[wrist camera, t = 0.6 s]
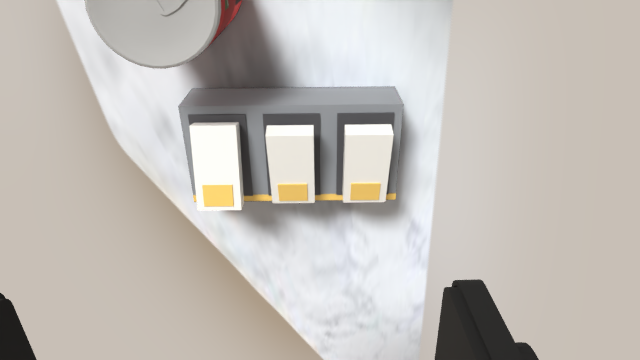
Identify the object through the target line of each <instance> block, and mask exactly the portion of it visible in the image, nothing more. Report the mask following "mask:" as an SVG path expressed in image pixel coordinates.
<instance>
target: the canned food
mask: <svg viewBox="0 0 640 360" xmlns="http://www.w3.org/2000/svg"><path fill="white" fill-rule="evenodd" d="M84 1H85V6H86V11H87V13H88V16H89V19H90V21H91V23H92V25H93V27H94V29H95V30H96V32H97V34H98V35H99V36H100V37H101V39H102V40H103V41H104V42H105V43H106V45H107V46H108V47H110V48H111V49H112V50H113V51H114V52H115V53H117V54H118V55H120V56H121V57H123V58H125V59H126V60H128V61H130V62H133V63H135V64H138V65H140V66H145V67H150V68H170V67H176V66H179V65H182V64H184V63H187V62H189V61H191V60H192V59H194V58H195V57H197V56H198V55H200V54H201V53H202V52H203V51H204V50H205V49H206V48H207V47H208V46H209V45H210V44H211V43H212V42H213V41H214V40H215V39H216V38H217V37H218V35H219V34H220V33H221V32H222V31H223V30H224V29H225V28H226V27H227V25H228V24H229V23H230V22H231V21H232V20H233V19H234V17H235V15H236V14H237V12H238V10H239V8H240V5H241V2H242V0H84Z"/></svg>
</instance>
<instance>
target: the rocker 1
mask: <svg viewBox="0 0 640 360" xmlns="http://www.w3.org/2000/svg"><path fill="white" fill-rule="evenodd" d="M189 127H190V138H191V148H192V159H193V169H194V179H195V190H196V200H197V211H204V210H242V208H243V206H244V194H243V178H242V162H241V146H240V131H239V122H217V123H193V124H191V125H190V126H189Z"/></svg>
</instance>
